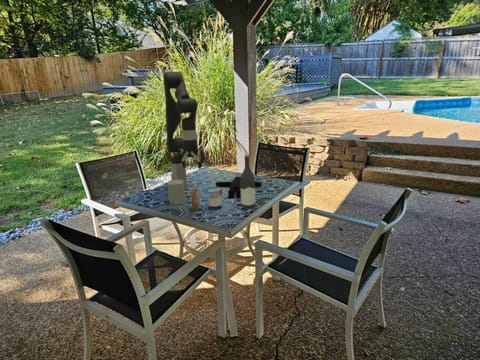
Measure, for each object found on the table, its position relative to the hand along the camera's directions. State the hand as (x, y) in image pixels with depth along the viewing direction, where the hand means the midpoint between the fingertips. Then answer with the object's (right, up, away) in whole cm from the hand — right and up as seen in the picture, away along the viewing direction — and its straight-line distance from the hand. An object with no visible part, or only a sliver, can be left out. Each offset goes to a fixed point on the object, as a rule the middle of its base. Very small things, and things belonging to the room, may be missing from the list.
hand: (192, 168), depth 169 cm
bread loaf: (+1, -23, +8) cm, 24 cm away
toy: (+24, -13, +35) cm, 45 cm away
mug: (+12, -21, +12) cm, 27 cm away
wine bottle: (+30, -21, +10) cm, 38 cm away
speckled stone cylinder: (-12, -19, +19) cm, 30 cm away
